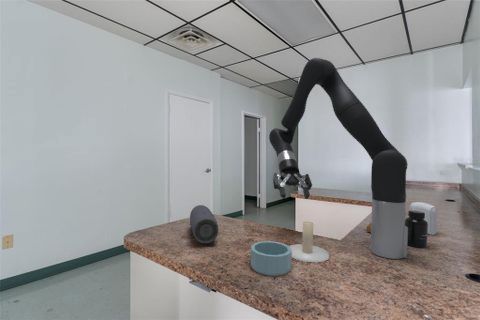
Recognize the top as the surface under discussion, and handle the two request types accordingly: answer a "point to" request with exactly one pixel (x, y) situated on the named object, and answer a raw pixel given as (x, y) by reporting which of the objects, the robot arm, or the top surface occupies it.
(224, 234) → the top surface
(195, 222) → the bluetooth speaker
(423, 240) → the supplement bottle
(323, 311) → the top surface
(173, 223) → the top surface
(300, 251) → the lid
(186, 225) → the top surface
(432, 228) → the photo printer
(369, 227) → the pastry
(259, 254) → the bowl
